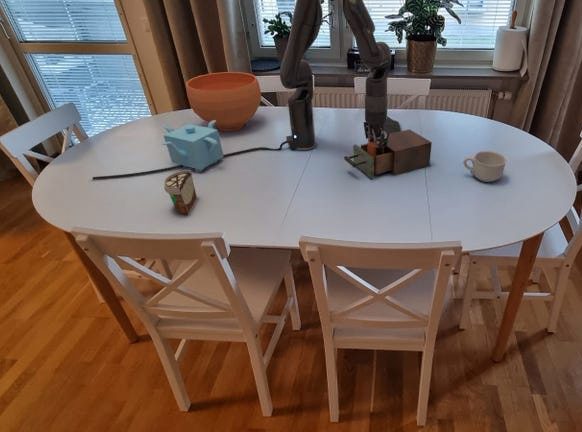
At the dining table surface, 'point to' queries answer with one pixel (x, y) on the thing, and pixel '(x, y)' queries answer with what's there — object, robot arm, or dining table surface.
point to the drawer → (371, 160)
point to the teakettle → (194, 145)
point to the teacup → (487, 165)
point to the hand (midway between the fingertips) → (375, 154)
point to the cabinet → (408, 151)
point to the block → (372, 148)
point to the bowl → (224, 98)
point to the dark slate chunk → (391, 126)
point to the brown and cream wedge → (181, 191)
